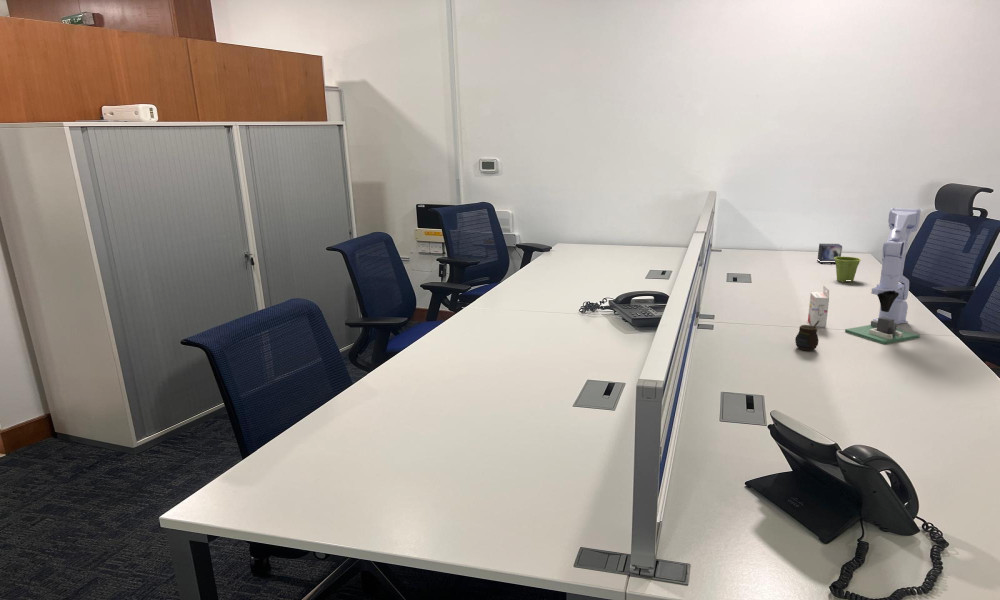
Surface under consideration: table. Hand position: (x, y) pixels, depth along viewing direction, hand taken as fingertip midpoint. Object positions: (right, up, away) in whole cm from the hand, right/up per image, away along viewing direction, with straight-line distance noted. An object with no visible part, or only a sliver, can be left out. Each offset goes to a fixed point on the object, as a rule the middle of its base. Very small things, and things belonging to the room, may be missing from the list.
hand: (884, 311), depth 234 cm
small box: (+45, +25, +128) cm, 138 cm away
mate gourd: (-33, -13, -10) cm, 37 cm away
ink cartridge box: (-16, -5, +18) cm, 25 cm away
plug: (0, -8, +1) cm, 8 cm away
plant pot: (+31, +13, +86) cm, 93 cm away
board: (+1, -9, +4) cm, 9 cm away
